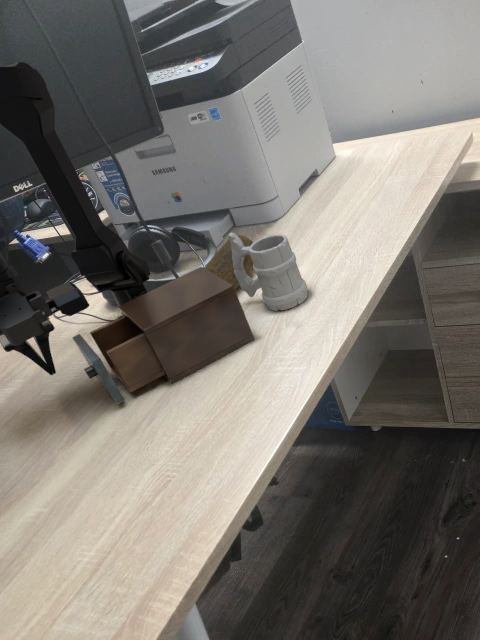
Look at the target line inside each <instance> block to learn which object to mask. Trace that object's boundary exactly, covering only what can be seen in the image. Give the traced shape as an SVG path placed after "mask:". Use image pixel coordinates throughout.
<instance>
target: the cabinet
mask: <svg viewBox="0 0 480 640" xmlns="http://www.w3.org/2000/svg"><path fill="white" fill-rule="evenodd" d="M204 268H205V267H202V266H200V267H197V268H195V269H193V270H191V271H189V272H187V273H185V274H183V275H180V276H179V277H177V278H175V279H172V280H171V281H168V282H166V283H165V284H162V285H159V286H158V287H156V288H154V289H152V290H150V291H148V293H146V294H144V295H142V296H139V297H137V298H135V299H133V300H131V301H129V302H127V303H125V304H123V305H121V306H118V307H117V308H118V310H119V311H120V313H121V315H123V316H124V315H125V316H126V317H127V318H128V319H129V320H130V321H132V322H133V323H134V324H135V325H136V326H137V327H138V328H139V329H140V330H141V331H142V332H143V333H145V336H146V338H147V339H148V341H149V343H150V345H151V347H152V349H153V351H154V353H155V355H156V357H157V358H158V360H159V362H160V364H161V366H162V368H163V370H164V372H165V375H163V376H162V377H164V378H165V379H166V380H167V381H168V382H169V383H170V384H174V383H176V382H178V381H180V380H181V379H184V378H185V377H188V376H190V375H191V374H193V373H195V372H197V371H198V370H199V371H200V369H202V368H205V367H206V366H208V365H210V364H211V363H214V362H216V361H217V360H219V359H221V358H223V357H225V356H227V355H229V354H230V353H232V352H234V351H236V350H238V349H239V348H241V347H244V346H245V345H247V344H249V343H251V342H252V341H254V340H255V337H254V334H253V332H252V329H251V326H250V324H249V322H248V319H247V317H246V314H245V311H244V309H243V306H242V304H241V301H240V299H239V297H238V294H237V291H236V290H235V289H234V286H233V285H231V284H230V283H228V282H226V281H225V280H223V279H221V278H219V277H218V276H216V275H214V274H213V273H211V272H209V271H208V270H206V269H204Z"/></svg>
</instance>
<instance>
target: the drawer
mask: <svg viewBox="0 0 480 640" xmlns="http://www.w3.org/2000/svg"><path fill="white" fill-rule="evenodd" d="M119 317H120V316H119ZM89 335H90V336H91V338H92V339H93V341H94V343H95V345H96V346H97V348H98V350H99V352H100V353H101V355H102V357H103V358H104V360H105V362H106V363H107V365H108V367H109V369H110V370H111V372H112V373H113V374H114V375H115V376H116V377H117V378H118V379H119V381H120V382H121V384H123V386H124V387H125V388H126V389H127V390H128V391H129V393H133V392H135V391H137V390H138V389H140V388H142V387H144V386H146V385H148V384H150V383H151V382H153V381H155V380H157V379H159V378H161V377H164V376H163V375H165V372H164V370H163V368H162V366H161V364H160V362H159V360H158V358H157V357H156V355H155V353H154V351H153V349H152V347H151V345H150V343H149V341H148V339H147V338H146V336H145V333H143V332H142V331H141V330H140V329H139V328H138V327H137V326H136V325H135V324H134V323H133V322H132V321H130V320H129V319H128V318H127V317H126V316H125V315H124V316H122V317H120V318H118V317H117V318H116V319H114V320H112V321H110V322H107V323H106V324H104V325H102V326H100V327H98V328H96V329H94V330H91V331H90V332H89ZM72 340H73V341H74V343H75V345H76V346H77V348H78V349H79V351H80V353H81V354H82V356H83V358H84V359H85V361H86V363H87V364H88V367H84V369H83V371H84V372H85V374H86V375H87V377H88V378H89V379H90V380H92V379H94V378H95V377H96V379H97V380H98V381H99V383H100V384H101V385H102V386H103V388H104V389H105V391H106V392H107V393H108V394H109V395H110V397H111V398H112V399H113V401H114V402H115V403H116V404H117V405H119V404H121V403H123V402H125V401H126V400H125V398H124V396H123V394H122V393H121V391H120V389H119V387H118V386H117V384H116V383H115V381H114V379H113V377H112V376H111V374H110V372H109V371H108V369H107V367H106V366H105V364H104V363H103V361H102V359H101V358H100V356H99V355H98V354H97V353H96V352H95V350H94V349H93V348H92V347H91V346H90V344H89V342H87V341H86V340H85V338H84V337H83V336H82V335H81V334H80V333H78V334H76V335H74V336H72Z"/></svg>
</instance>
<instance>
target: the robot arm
mask: <svg viewBox="0 0 480 640" xmlns="http://www.w3.org/2000/svg"><path fill="white" fill-rule="evenodd" d="M55 111H56V110H55V104H54V102H53V99H52V97H51V94H50V92H49V89H48V86H47V84H46V81H45V79H44V77H43V76H42V75H41V73H40V72H39V70H38V69H37V68H35V67H32V66H31V65H29V64H28V63H26V62H24V61H20V62H16V63H12V64H9V65H6V66H0V126H1V127H2V128H4V129H5V130H6V131H7V132H9V133H10V134H11V135H13V136H14V137H15V138H17V139H18V140H19V141H20V142H22V143H23V145H24V148H25V149H26V151H27V153H28V155H29V156H30V158H31V160H32V162H33V163H34V165H35V167H36V169H37V170H38V172H39V174H40V176H41V177H42V180H43V181H44V183H45V185H46V187H47V189H48V190H49V192H50V194H51V196H52V197H53V200H54V201H55V203H56V205H57V207H58V209H59V210H60V212H61V214H62V215H63V217H64V219H65V221H66V223H67V224H68V227H69V228H70V230H71V232H72V234H73V236H74V250H72V251H71V252H70V255H71V259H72V260H73V262H75V264H76V266H77V268H78V270H79V273H80V276H81V277H84V278H85V279H86V281H87V282H88V283H89V284H91V285H92V286H93V287H94V288H95V290H96V291H97V292H98V293H103V292H106V291H107V292H108V291H110V292H111V294H112V297H113V298H114V301H115V302H116V304H117V306H118V307H119V306H121V305H123V304H125V303H127V302H129V301H131V300H133V299H135V298H137V297H139V296H142V295H144V294H146V293H148V292H149V291H148V289H147V288H146V285H145V284H144V283H145V282H147V281H149V280H150V275H151V271H150V266H149V263H148V261H147V260H145V259H143V258H141V257H140V256H138V255H136V254H134V253H133V252H131V251H130V250H129V248H128V246H127V245H126V243H125V242H124V240H123V239H122V237H121V236H120V235H118V234H117V233H116V232H114V231H113V230H112V229H111V228H109V227H108V226H107V225H105V224H104V222H103V221H102V219H101V217H100V215H99V213H98V211H97V209H96V206H95V205H94V203H93V201H92V199H91V197H90V196H89V194H88V192H87V190H86V188H85V185H84V184H83V182H82V180H81V178H80V176H79V174H78V171H76V168H75V167H74V165H73V163H72V160H71V159H70V157H69V155H68V153H67V151H66V149H65V147H64V145H63V143H62V141H61V140H60V138H59V135H58V133H57V131H56V129H55V128H56V127H55V120H56V118H55V117H56V116H55V114H56V113H55ZM46 294H47V296H48V297H49V299H47V300H45V298H44V296H43V294H42V293H41V292H40V290H39V289H36V290H34V291H31V292H29V293H26V292H25V290H24V288H23V287H22V285H21V284H20V282H19V281H18V278H17V277H16V276H15V274H14V273H13V271H12V270H11V268H10V266H9V264H7V261H6V260H5V259H4V257H3V255H2V254H1V253H0V345H1V346H2V348H3V351H4V352H6V353H10V352H12V351H15V352H18V353H20V354H22V355H23V356H24V357H26V358H28V359H29V360H31V361H32V362H33V363H34V364H36V365H37V366H38V367H40V368H41V369H42V370H43V371H44V372H46V373H47V374H48V375H50V376H54V375H55V374H57V370H56V367H55V363H54V360H53V356H52V351H51V346H50V333H51V332H53V331H55V329H56V327H55V326H54V324H53V323H52V321H51V320H50V319H51V318H50V317H52V316H53V315H55V314H56V313H58V312H60V313H61V314H62V315H65V316H69V317H72V316H74V315H76V314H78V313H80V312H82V311H85V310H86V309H88V308H89V307H90V304H89V302H88V300H87V298H86V297H85V295H84V293H83V292H82V290H81V289H80V288H79V287H78V286H77V285H76V284H75V283H73V282H70V281H66V282H64V283H62V284H60V285H57V286H55V287H53V288H51V289H49V290H47V291H46ZM122 316H123V315H122V314H121V315H119V316H118V317H117V319H118V318H120V317H122ZM32 338H33V339H34V342H35V344H36V346H37V347H38V349H39V352H40V354H41V355H42V356H41V355H40V354H39V353H38V352H37V351H36V348H34V347H33V345H31V343H30V342H29V341H28V340H31V339H32Z"/></svg>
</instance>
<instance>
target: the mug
mask: <svg viewBox="0 0 480 640" xmlns="http://www.w3.org/2000/svg"><path fill="white" fill-rule="evenodd" d="M229 239H230V242H231V247H232V248H231V250H232V260H233V267H234V274H235V276H236V278H237V280H238V282H239V287H240V289H242V291H243V292H245V293H246V294H247V295H248V296H249V298H253V297H254V296H255V295H256V293H257V290H259V289H261V291H262V292H261V298H262V301H263V302H264V303H265V305H266V306H267V308H268V310H270V311H273V312H278V311H279V310H280V311H287V310H289V309H292V308H295V307H297V306H298V305H301V304H302V303H303V302H305V301H306V299H307V297H308V291H307V290H308V289H307V288H308V285H307V282H306V280H305V279H303V278H302V274H301V271H300V268H299V266H298V264H297V257H296V253H295V252H294V251H293V250H292V247H291V245H290V243H289V239H288V237H287V235H285V234H280V233H279V234H272V235H267V236H265V237H262V238H259V239H258V240H256V241H253V244H252V245H251V246H248V247H244V245H243V243H242V241H241V239H240V238H239V237H238V235H237V234H236V233H234V232H230V233H229V234H228V240H229ZM245 255H251V258H252V261H253V268H252V270H253V272H254V274H255V275H256V276H257V278H255V279H253V278H251V276H249V274H248V275H247V274H246V271H245V269H244V267H243V260H244V256H245Z"/></svg>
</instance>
